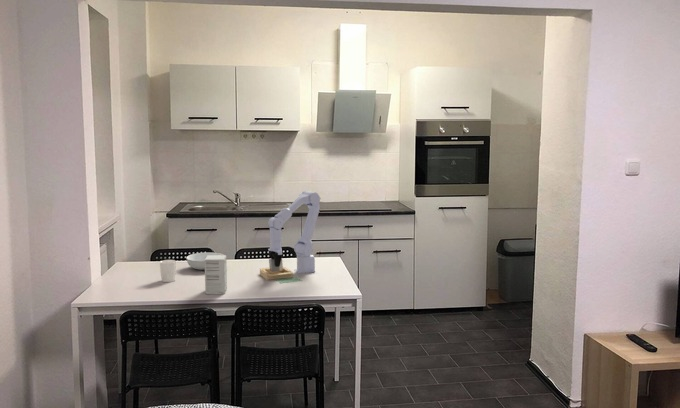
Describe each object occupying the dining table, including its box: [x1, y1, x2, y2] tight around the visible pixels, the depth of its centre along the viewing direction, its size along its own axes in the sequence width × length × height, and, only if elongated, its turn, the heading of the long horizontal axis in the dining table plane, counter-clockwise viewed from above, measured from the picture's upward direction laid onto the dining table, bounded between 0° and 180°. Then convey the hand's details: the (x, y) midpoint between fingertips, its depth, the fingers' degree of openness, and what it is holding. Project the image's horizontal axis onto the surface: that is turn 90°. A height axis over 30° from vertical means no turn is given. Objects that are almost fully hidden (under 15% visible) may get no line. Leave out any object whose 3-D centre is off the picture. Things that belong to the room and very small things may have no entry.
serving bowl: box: [185, 252, 224, 271], centre depth 315 cm, size 21×21×7 cm
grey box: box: [268, 258, 284, 272], centre depth 296 cm, size 6×4×6 cm
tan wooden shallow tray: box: [259, 266, 294, 281], centre depth 297 cm, size 14×17×3 cm
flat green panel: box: [274, 276, 303, 284], centre depth 288 cm, size 12×9×1 cm
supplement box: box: [204, 254, 228, 295], centre depth 267 cm, size 10×9×17 cm
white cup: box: [159, 259, 177, 283], centre depth 288 cm, size 8×8×10 cm
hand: (276, 265), depth 296 cm, fingers closed on grey box, 4 cm apart
